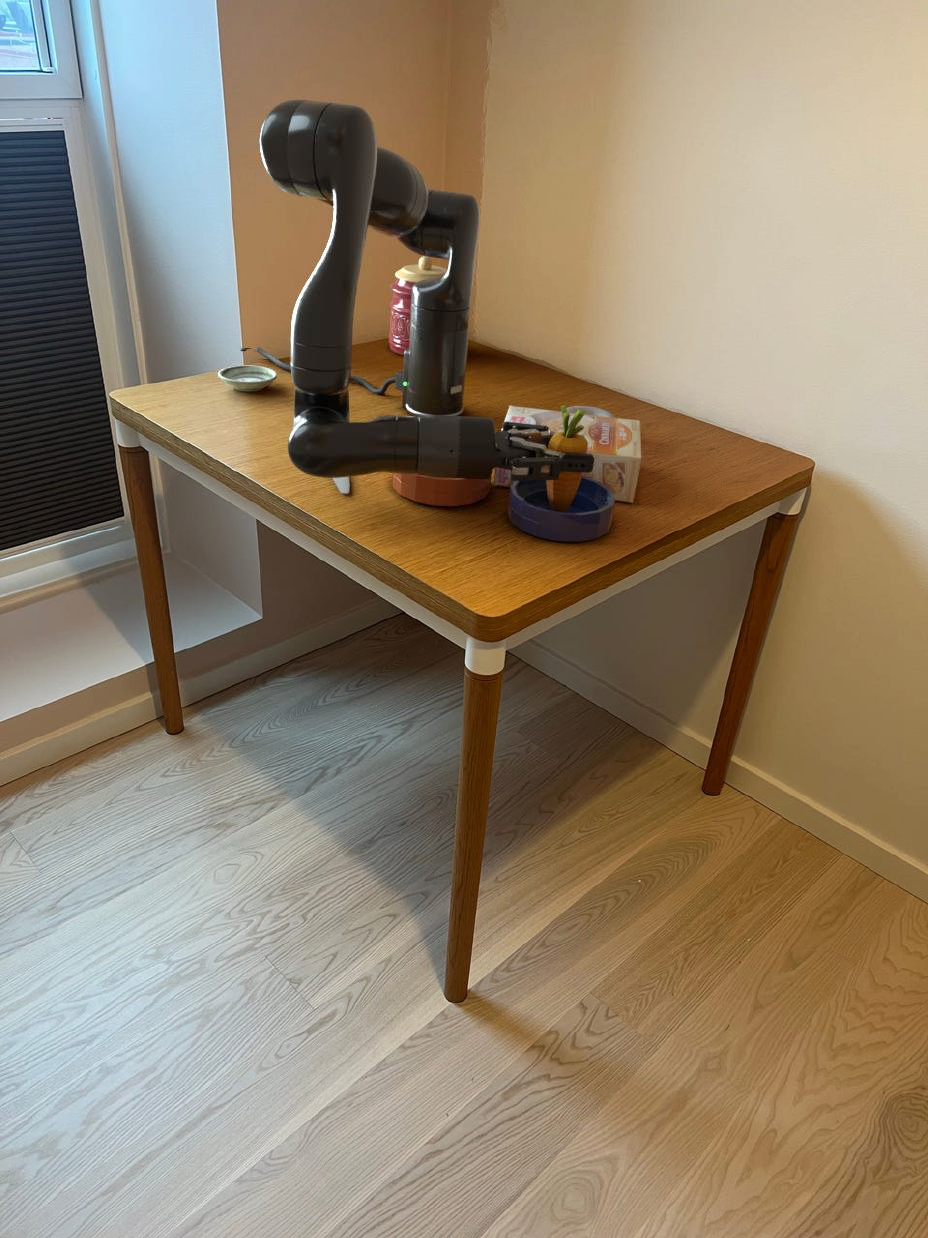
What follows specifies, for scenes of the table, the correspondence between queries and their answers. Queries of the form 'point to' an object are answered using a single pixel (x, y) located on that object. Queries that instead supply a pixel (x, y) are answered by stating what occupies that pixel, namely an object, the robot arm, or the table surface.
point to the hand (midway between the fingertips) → (587, 453)
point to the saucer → (247, 377)
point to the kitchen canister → (407, 301)
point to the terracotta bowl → (441, 489)
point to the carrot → (568, 442)
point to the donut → (590, 411)
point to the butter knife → (342, 484)
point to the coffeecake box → (592, 447)
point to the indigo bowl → (576, 524)
